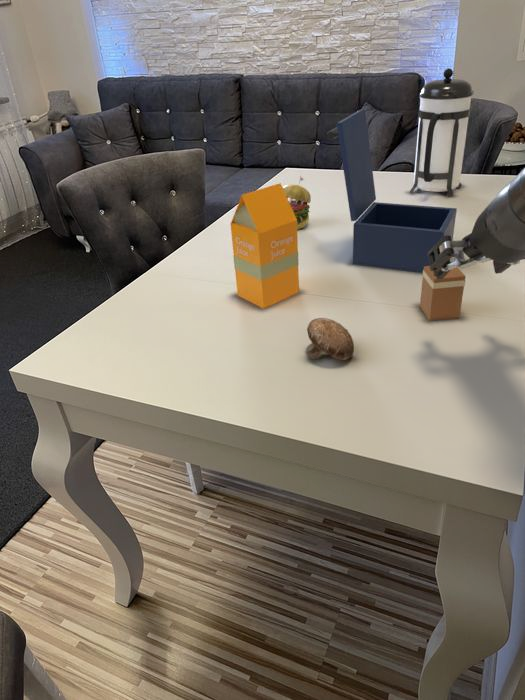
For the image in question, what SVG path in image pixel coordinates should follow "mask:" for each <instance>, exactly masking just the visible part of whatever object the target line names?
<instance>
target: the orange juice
mask: <svg viewBox="0 0 525 700" xmlns="http://www.w3.org/2000/svg"><path fill="white" fill-rule="evenodd" d="M282 187H283V185H282V184H281V183H276V184H272V185H270V186H267V187H263V188H260V189H257V190H253V191H251V192H246V193H243V194H241V195H240V199H239V202H238V204H237V206H236V208H235V212H234V214H233V216H232V219H231V222H230V233H231V240H232V241H231V243H232V254H233V255H232V256H233V266H234V270H235V271H234V272H235V282H236V292H237V296H238V297H240V298H242V299H243V300H245V301H247V302H250V303H252V304H254V305H255V306H257V307H259V308H261V309H266V308H268V307H270V306H272V305H275V304H276V303H279V302H281V301H283V300H285V299H287V298H290V297H292V296H294V295H296V294H298V293H300V280H299V279H300V277H299V274H300V273H299V264H300V263H299V245H298V244H299V243H298V230H297V219H296V217H295V214H294V212H293V210H292V208H291V205H290V203H289V201H290V200H289V198H288V199H287V197H286V194H285V192H284V190H283V188H282Z"/></svg>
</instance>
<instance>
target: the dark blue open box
mask: <svg viewBox="0 0 525 700" xmlns="http://www.w3.org/2000/svg"><path fill="white" fill-rule="evenodd" d="M456 217H457V208H456V207H444V206H429V205H418V204H403V203H402V204H401V203H389V202H379V201H378V202H377V201H374V202H373V203H372V204H371V205H370V206H369V207H368V208H367V209H366V211H365V212H364V213H363V214H362V215H361V216H360V217H359V218H358V219H357V220H356V221H354V223H353V228H352V229H353V231H352V265H353V266H354V265H355V266H356V265H357V266H362V267H370V268H371V267H372V268H378V269H387V270H393V271H395V270H396V271H403V272H410V273H417V274H418V273H420V274H423V270H424V266H430V264H429V258H428V254H427V253H428V252H429V251H430V250H431V249H432V248H433V246H434V245H435V244H436V243H437V242H438V241H439V240H440V239H441V238H442V237H443V236H446V235H450V236H451V239H452V241H454V233H455V226H456V225H455V224H456Z"/></svg>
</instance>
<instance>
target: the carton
mask: <svg viewBox="0 0 525 700" xmlns="http://www.w3.org/2000/svg"><path fill="white" fill-rule="evenodd" d="M465 286H466V275H465V273H463V272H462V270H461V269H460V268H459V267H456V268H454V269H451V270H450V271H449V273H448V274H447V275H446V276H445V277H444V278H443V279H437V278H436V276H434V272H433V271H431V270H430V266H424V270H423V273H422V280H421V291H420V298H419V299H420V300H419V308H420V309H421V311H422V312H423V313H424V316H425V317H426V318H427V319H428V321H429V322H430V321H439V320H441V321H442V320H451V319H459V318H460V316H461V309H462V303H463V296H464V289H465Z"/></svg>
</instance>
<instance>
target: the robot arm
mask: <svg viewBox="0 0 525 700" xmlns="http://www.w3.org/2000/svg"><path fill="white" fill-rule="evenodd" d="M427 254H428V258H429V264H430V270H431V271H433V272H434V276H436V278H437V279H443V278H444V277H445V276H446V275H447V274H448V273H449V271H450V270H451V269H454V268H456V267H457V268H459V269H466V268H468V267H471V266H473V265H476V264H479V263H482V264H484V263H487V262H489V261H492V264H493V269H494V274H502V273H504V272H505V271H506V270H508V269H509V268H510V267H512V266H517V265H519V264H520V263H521V261H522V260H525V167H523V169H522V170H521V171H520V172H519V173H518V174H517V175H516V176H515V177H514V179H512V180H511V181H509V182H508V183H507V184H506V185H505V186H504V187H503V188H502V189H501V190H500V191H499V192H498V193H497V195H496V196H495V197H494V198H493V199H492V200H491V201H490V203H489V204H487V206H486V207H485V208H484V209H483V211H481V213H480V214H479V215H478V217H477V218H476V220H475V223H474V225H473V228H472V231H471V233H469V234H468V235H466V236H464V237H463V238H462V239H460V240H453V241H452V239H451V236H450V235H446V236H443V237H442V238H441V239H440V240H439V241H438V242H437V243H436V244H435V245H434V246H433V248H432V249H431V250H430V251H429V252H428V253H427ZM465 256H467V257H468V258H467V259H466V257H465ZM451 259H454V261H452V262H451Z"/></svg>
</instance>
